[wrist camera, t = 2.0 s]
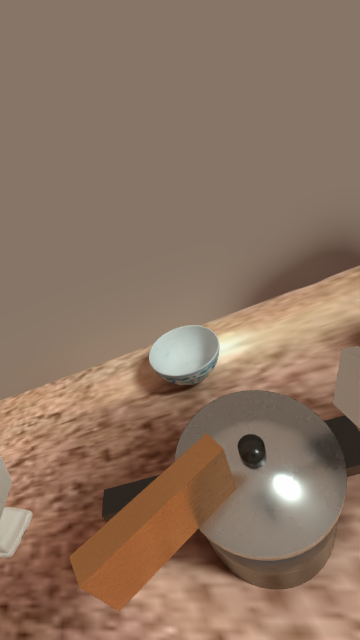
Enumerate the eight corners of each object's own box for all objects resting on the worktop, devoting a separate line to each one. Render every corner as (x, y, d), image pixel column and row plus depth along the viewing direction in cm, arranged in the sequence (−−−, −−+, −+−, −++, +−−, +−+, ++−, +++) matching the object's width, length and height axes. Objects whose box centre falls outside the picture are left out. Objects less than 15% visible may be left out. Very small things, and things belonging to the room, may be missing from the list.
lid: (248, 375, 46) (240, 329, 41) (383, 460, 32) (396, 407, 27) (83, 517, 35) (43, 480, 30) (176, 738, 21) (131, 741, 16)
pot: (321, 427, 49) (322, 378, 42) (402, 560, 34) (424, 518, 27) (136, 477, 51) (108, 437, 44) (136, 625, 36) (94, 600, 29)
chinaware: (225, 398, 59) (218, 371, 54) (153, 403, 62) (141, 378, 58) (225, 346, 70) (219, 321, 66) (165, 353, 74) (155, 329, 70)
